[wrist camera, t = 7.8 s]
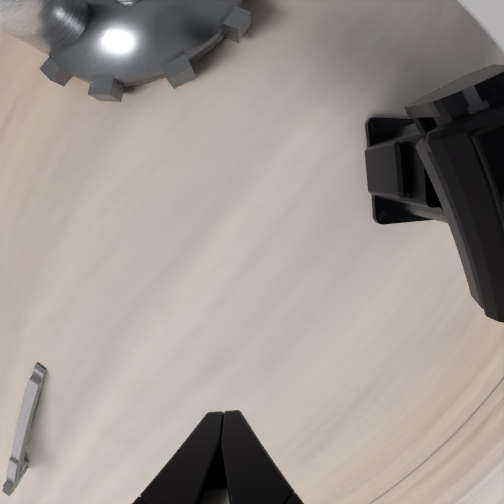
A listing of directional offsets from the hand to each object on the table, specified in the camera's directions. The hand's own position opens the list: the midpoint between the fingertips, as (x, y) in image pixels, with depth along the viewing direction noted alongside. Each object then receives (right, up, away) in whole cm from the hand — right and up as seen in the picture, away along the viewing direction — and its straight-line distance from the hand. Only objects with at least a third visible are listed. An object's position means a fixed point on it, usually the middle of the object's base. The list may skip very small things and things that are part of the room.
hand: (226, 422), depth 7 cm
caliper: (-22, -13, +15) cm, 30 cm away
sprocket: (-6, +21, +8) cm, 23 cm away
